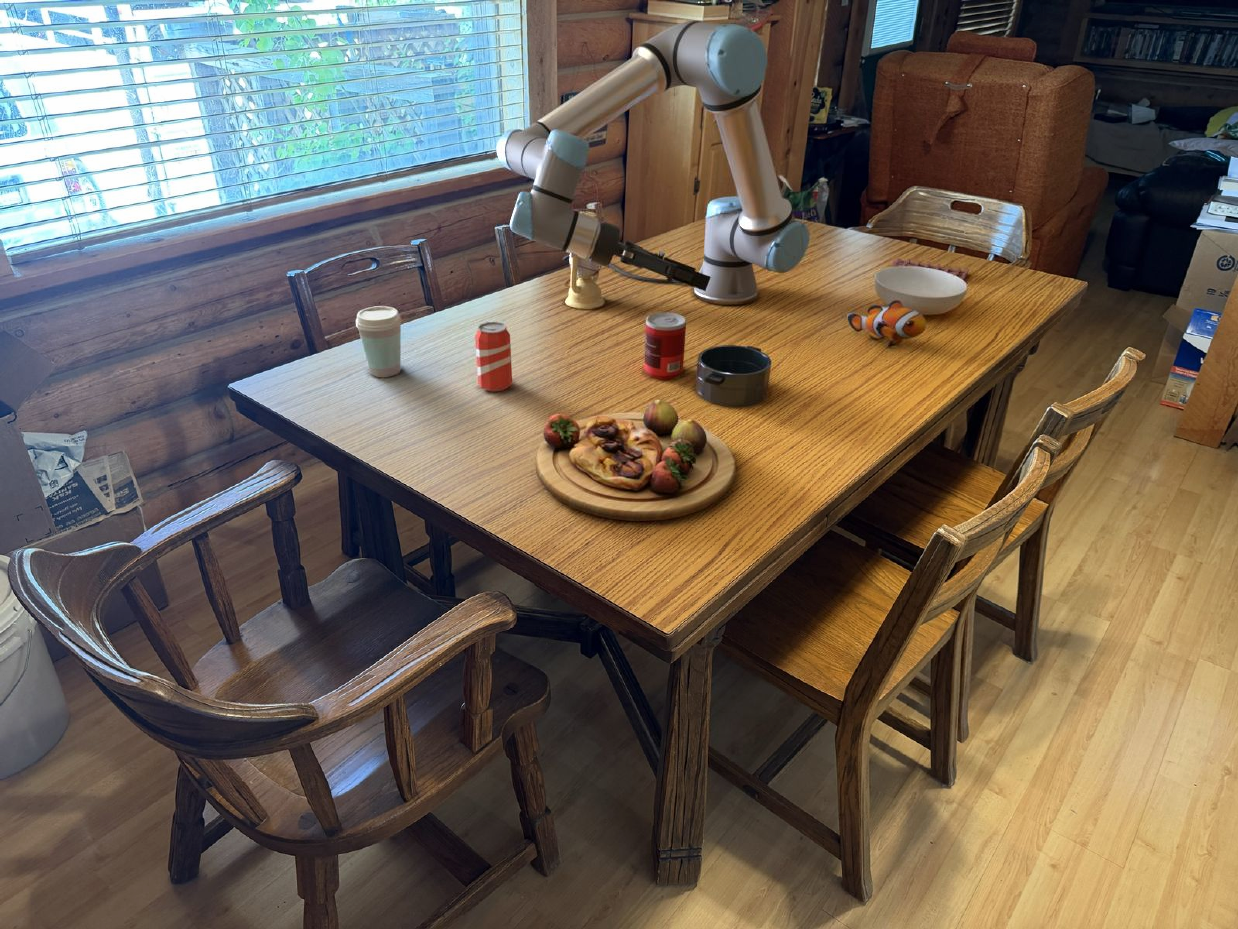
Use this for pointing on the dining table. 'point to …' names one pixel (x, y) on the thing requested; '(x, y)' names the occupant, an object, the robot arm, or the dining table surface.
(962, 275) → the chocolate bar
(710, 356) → the pot
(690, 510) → the wooden plate
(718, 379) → the pot handles
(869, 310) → the fish
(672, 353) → the canned food
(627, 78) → the robot arm
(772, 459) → the dining table surface
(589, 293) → the lantern
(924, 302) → the serving bowl
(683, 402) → the dining table surface
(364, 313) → the coffee cup
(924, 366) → the dining table surface
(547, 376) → the dining table surface
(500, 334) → the beverage can
